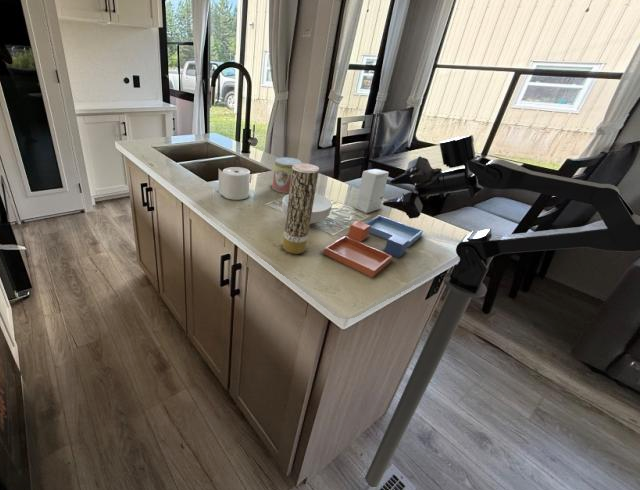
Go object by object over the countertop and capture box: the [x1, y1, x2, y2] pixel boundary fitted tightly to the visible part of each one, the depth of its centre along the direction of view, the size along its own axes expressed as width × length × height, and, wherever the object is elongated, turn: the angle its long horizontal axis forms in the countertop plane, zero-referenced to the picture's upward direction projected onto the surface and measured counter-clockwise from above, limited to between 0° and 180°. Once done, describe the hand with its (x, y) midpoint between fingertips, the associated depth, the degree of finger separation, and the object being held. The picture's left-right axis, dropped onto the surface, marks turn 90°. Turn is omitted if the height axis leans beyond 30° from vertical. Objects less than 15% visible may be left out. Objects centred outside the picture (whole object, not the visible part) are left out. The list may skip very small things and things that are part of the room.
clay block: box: [347, 220, 370, 243], centre depth 104 cm, size 4×4×4 cm
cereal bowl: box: [282, 193, 333, 225], centre depth 113 cm, size 17×17×7 cm
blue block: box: [383, 235, 409, 259], centre depth 97 cm, size 4×4×4 cm
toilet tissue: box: [217, 166, 251, 201], centre depth 130 cm, size 11×12×10 cm
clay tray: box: [323, 235, 393, 278], centre depth 93 cm, size 15×11×2 cm
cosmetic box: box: [354, 168, 390, 214], centre depth 122 cm, size 8×6×15 cm
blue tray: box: [365, 214, 424, 248], centre depth 108 cm, size 15×11×2 cm
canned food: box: [271, 156, 303, 194], centre depth 138 cm, size 11×11×12 cm
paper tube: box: [282, 162, 320, 255], centre depth 91 cm, size 7×7×25 cm
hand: (386, 192), depth 95 cm, fingers open, 9 cm apart
